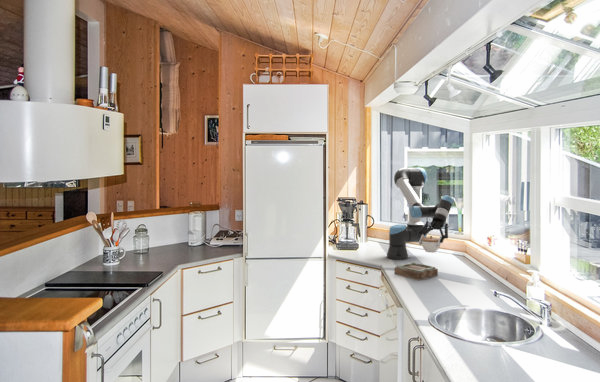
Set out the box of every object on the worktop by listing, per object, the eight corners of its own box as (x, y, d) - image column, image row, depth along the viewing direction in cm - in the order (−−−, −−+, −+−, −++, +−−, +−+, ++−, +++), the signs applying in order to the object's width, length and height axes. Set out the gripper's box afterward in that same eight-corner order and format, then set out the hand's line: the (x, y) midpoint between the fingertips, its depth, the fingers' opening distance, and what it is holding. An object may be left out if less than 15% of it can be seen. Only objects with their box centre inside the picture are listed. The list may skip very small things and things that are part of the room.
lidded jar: (441, 253, 253) (441, 237, 252) (422, 253, 255) (422, 237, 254) (438, 249, 263) (438, 234, 263) (420, 249, 265) (420, 234, 265)
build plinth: (413, 269, 273) (413, 261, 273) (437, 275, 259) (437, 267, 259) (394, 273, 263) (394, 265, 263) (418, 280, 248) (418, 271, 248)
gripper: (421, 211, 273) (408, 239, 262) (457, 214, 257) (445, 243, 247) (424, 219, 277) (412, 246, 267) (460, 222, 262) (449, 251, 251)
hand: (428, 245), depth 257 cm, fingers closed on lidded jar, 11 cm apart
